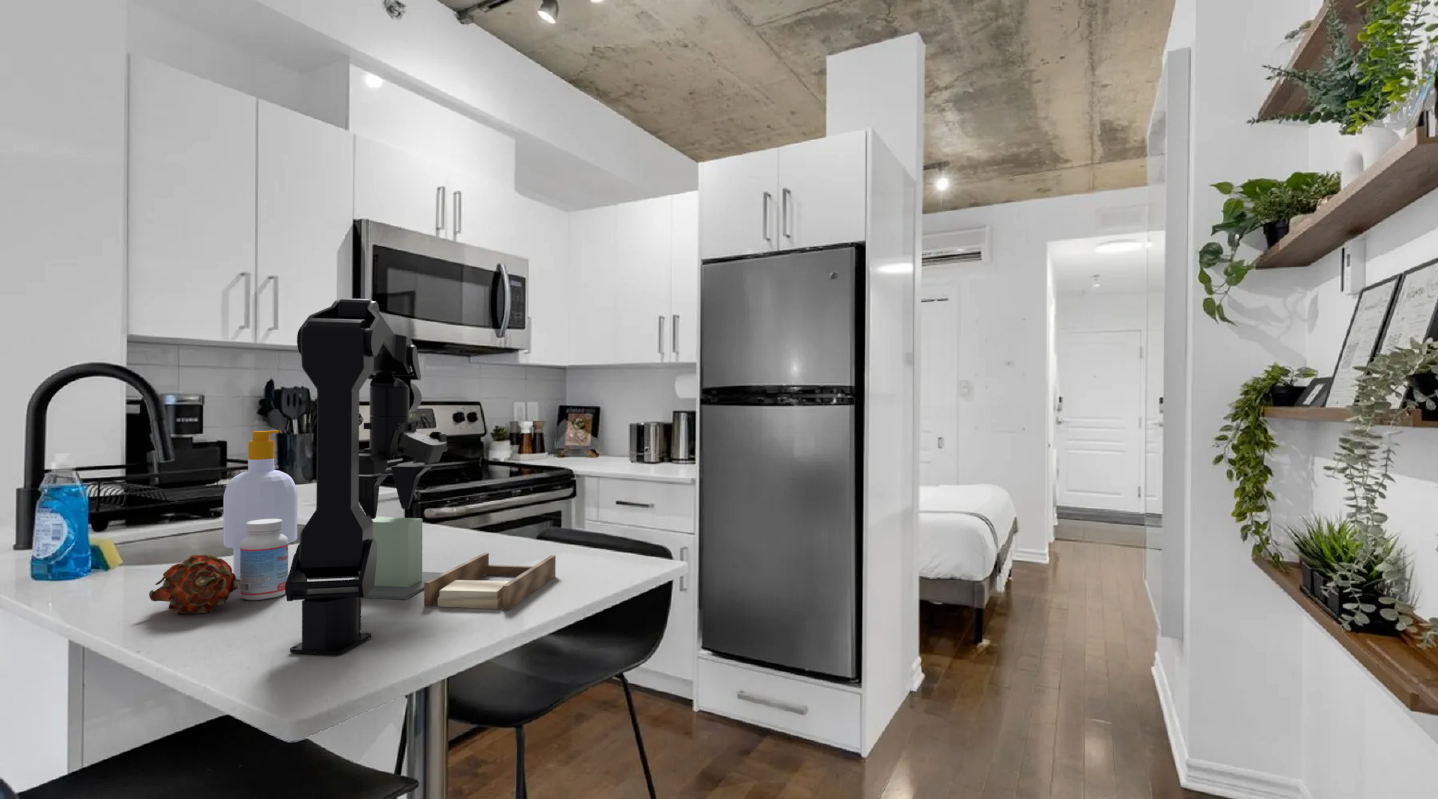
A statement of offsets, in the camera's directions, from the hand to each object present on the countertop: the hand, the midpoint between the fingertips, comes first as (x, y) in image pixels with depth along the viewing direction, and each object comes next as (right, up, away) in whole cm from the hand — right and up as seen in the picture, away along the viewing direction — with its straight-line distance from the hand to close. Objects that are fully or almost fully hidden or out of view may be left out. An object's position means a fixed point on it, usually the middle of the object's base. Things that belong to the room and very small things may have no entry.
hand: (389, 513), depth 111 cm
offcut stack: (+17, -12, -9) cm, 22 cm away
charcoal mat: (0, -11, 0) cm, 11 cm away
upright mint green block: (0, -11, 0) cm, 11 cm away
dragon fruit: (-21, -12, -14) cm, 27 cm away
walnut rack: (+18, -12, -3) cm, 21 cm away
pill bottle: (-16, -12, -6) cm, 21 cm away
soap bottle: (-24, -11, +5) cm, 27 cm away
